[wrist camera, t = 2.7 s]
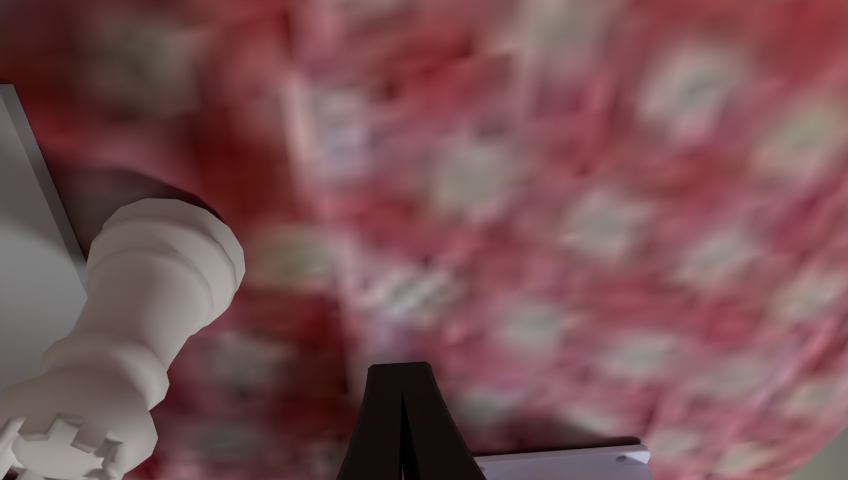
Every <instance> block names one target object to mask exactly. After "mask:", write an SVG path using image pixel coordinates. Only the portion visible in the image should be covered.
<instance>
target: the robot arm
mask: <svg viewBox="0 0 848 480" xmlns="http://www.w3.org/2000/svg"><path fill="white" fill-rule="evenodd" d="M649 457H650V452H649V450H648V448H647V447H646V446H645V445H627V446H614V447H601V448H587V449H574V450H561V451H547V452H534V453H521V454H508V455H494V456H481V457H473V456H472V454H471V453H470V451H469V449H468V447H467V446H466V444H465V442H464V440H463V438H462V436H461V434H460V433H459V431H458V429H457V427H456V425H455V423H454V421H453V419H452V417H451V415H450V413H449V411H448V409H447V407H446V405H445V402H444V400H443V398H442V396H441V393H440V391H439V389H438V386H437V383H436V381H435V378H434V375H433V372H432V369H431V365H430V364H428V363H427V362H409V363H392V364H375V365H372V366H370V367H369V368H368V374H367V382H366V388H365V393H364V398H363V402H362V406H361V409H360V413H359V417H358V420H357V423H356V426H355V429H354V432H353V435H352V439H351V442H350V445H349V448H348V450H347V453H346V456H345V458H344V461H343V463H342V466H341V469H340V471H339V474H338V476H337V479H336V480H402V466H403V473H404V480H655V479H654V477H653V475H652V473H651V471H650V469H649V467H648V465H647V462H648V460H649Z"/></svg>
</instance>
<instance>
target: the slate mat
mask: <svg viewBox="0 0 848 480" xmlns="http://www.w3.org/2000/svg"><path fill="white" fill-rule="evenodd" d="M86 265H87V264H86V261H85V259H84V256H83V254H82V251H81V249H80V247H79V244H78V242H77V239H76V237H75V234H74V232H73V229H72V227H71V225H70V222H69V220H68V217H67V215H66V212H65V210H64V208H63V205H62V203H61V200H60V198H59V195H58V193H57V191H56V188H55V186H54V183H53V181H52V178H51V176H50V173H49V171H48V169H47V166H46V164H45V161H44V159H43V156H42V154H41V152H40V149H39V147H38V144H37V142H36V139H35V137H34V135H33V132H32V130H31V127H30V125H29V122H28V120H27V117H26V115H25V113H24V110H23V108H22V105H21V103H20V100H19V98H18V96H17V93H16V91H15V88H14V86H13V84H0V393H1V392H2V391H3V390H4V389H5V388H6V387H8V386H11V385H14V384H17V383H20V382H23V381H27V380H30V379H33V378H36V377H39V376H41V372H40V370H39V369H40V364H41V358H42V353H43V352H45V351H46V350H47V349H48V348H49V347H50V346H51V345H52V344H53V343H54V342H55V341H57V340H60V339H63V338H66V337H67V336H68V334H69V333H70V332H71V330H72V329H73V328H74V326H75V324H76V322H77V319H78V317H79V315H80V313H81V311H82V309H83V307H84V305H85V303H86V301H87V299H88V296H89V295H88V292H87V289H86V285H87V281H88V278H87V275H86V272H85V269H86Z"/></svg>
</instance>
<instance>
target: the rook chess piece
mask: <svg viewBox="0 0 848 480" xmlns="http://www.w3.org/2000/svg"><path fill="white" fill-rule="evenodd" d="M85 272H86V275H87V278H88V281H87V285H86V289H87V292H88V295H89V296H88V299H87V301H86V303H85V305H84V307H83V309H82V311H81V313H80V315H79V317H78V319H77V322H76V324H75V326H74V328H73V329H72V330H71V332H70V333H69V334H68V336H67V337H66V338H63V339H60V340H57V341H55V342H54V343H53V344H52V345H51V346H50V347H49V348H48V349H47V350H46V351H45V352H43V353H42V358H41V364H40V369H39V370H40V372H41V376H39V377H36V378H33V379H30V380H27V381H23V382H20V383H17V384H14V385H11V386H8V387H6V388H5V389H4V390H3V391H2V392H1V393H0V480H2V479H3V477H4V476H5V474H6V473H7V471H8V470H9V468H12V469H13V470H14V471H16V472H17V473H18V474H19V475H18V476H17V478H16V479H15V480H121V479H122V477H123V475H124V474H125V473H126V472H128V471H130V470H132V469H133V468H135V467H136V466H138V465H139V464H140V463H142V462H143V461H144V460H146V459H147V458H148V457H150V456H151V455H152V452H153V450H154V447H155V444H156V442H157V439H158V436H157V433H156V430H155V426H154V423H153V419H152V417H151V415H150V413H149V410H151V409H152V408H153V407H154V406H156V405H157V404H158V403H159V402H161V401H162V400H163V399H164V398H165V395H166V392H167V390H168V387H169V381H168V377H167V373H166V372H167V370H168V368H169V366H170V364H171V362H172V361H173V360H174V358H175V357H176V355H177V354H178V352H179V351H180V349H181V348H182V346H183V345H184V343H185V342H186V340H187V339H188V337H189V336H191V335H194V334H195V333H196V332H198V331H199V330H200V329H201V328H202V327H204V326H208V325H209V324H210V323H211V322H212V321H214V320H215V319H216V318H217V317H218V316H220V315H221V314H222V313H223V312H224V311H225V310H226V309H227V308H228V307H229V306H230V304H231V302H232V299H233V297H234V294H235V292H236V291H237V290H238V288H239V286H240V283H241V281H242V278H243V276H244V273H245V263H244V255H243V249H242V247H241V245H240V244H239V242H238V241H237V239H236V237H235V236H234V234H233V233H232V231H231V229H230V228H229V227H228V226H227V225H225V224H224V223H223V222H221V221H220V220H219V219H217V218H216V217H215V216H214V215H212V214H211V213H210V212H208V211H207V210H205V209H202V208H200V207H197V206H194V205H191V204H188V203H186V202H183V201H180V200H177V199H152V198H146V199H143V200H140V201H137V202H134V203H131V204H128V205H125V206H122V207H120V208H119V209H118V210H117V211H116V212H115V213H114V214H113V215H112V216H111V217H110V218H109V219H108V220H107V221H106V222H105V223H104V224H103V227H102V231H101V232H100V233H99V234H98V235H97V236H96V237H95V238H94V239H93V240H92V244H91V248H90V252H89V256H88V261H87V265H86V269H85Z"/></svg>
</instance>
